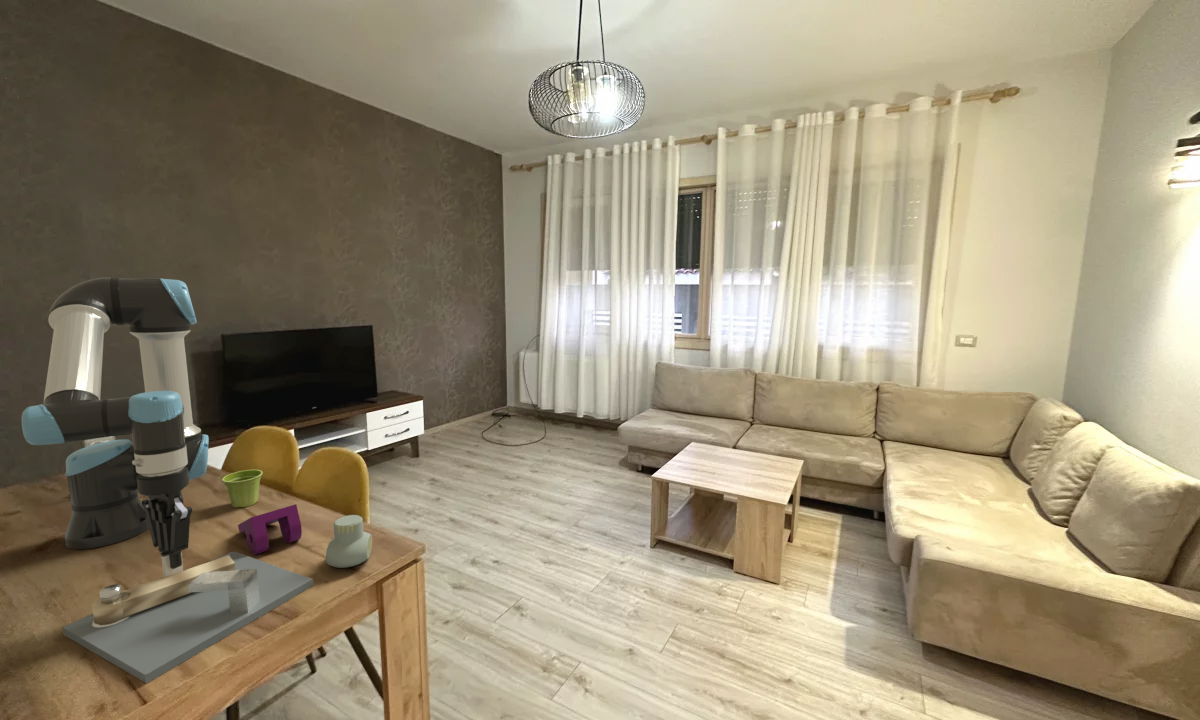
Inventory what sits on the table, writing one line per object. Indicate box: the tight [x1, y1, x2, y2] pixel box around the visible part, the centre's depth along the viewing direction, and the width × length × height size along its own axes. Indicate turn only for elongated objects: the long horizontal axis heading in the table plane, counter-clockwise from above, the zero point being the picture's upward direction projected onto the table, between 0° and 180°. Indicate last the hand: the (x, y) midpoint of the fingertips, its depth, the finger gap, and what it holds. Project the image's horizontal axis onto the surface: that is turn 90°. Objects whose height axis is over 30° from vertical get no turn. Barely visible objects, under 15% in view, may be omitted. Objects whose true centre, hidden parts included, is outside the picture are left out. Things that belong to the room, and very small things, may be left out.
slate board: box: [62, 550, 314, 684], centre depth 93 cm, size 27×28×2 cm
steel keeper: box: [188, 569, 260, 614], centre depth 90 cm, size 10×4×6 cm, turn 99°
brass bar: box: [91, 555, 236, 624], centre depth 93 cm, size 20×5×3 cm, turn 141°
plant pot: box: [221, 469, 263, 508], centre depth 138 cm, size 9×9×9 cm
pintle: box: [92, 583, 133, 628], centre depth 87 cm, size 6×6×6 cm
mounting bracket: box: [237, 503, 303, 556], centre depth 119 cm, size 10×8×18 cm
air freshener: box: [325, 514, 373, 569], centre depth 109 cm, size 11×8×10 cm
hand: (174, 580), depth 96 cm, fingers closed
